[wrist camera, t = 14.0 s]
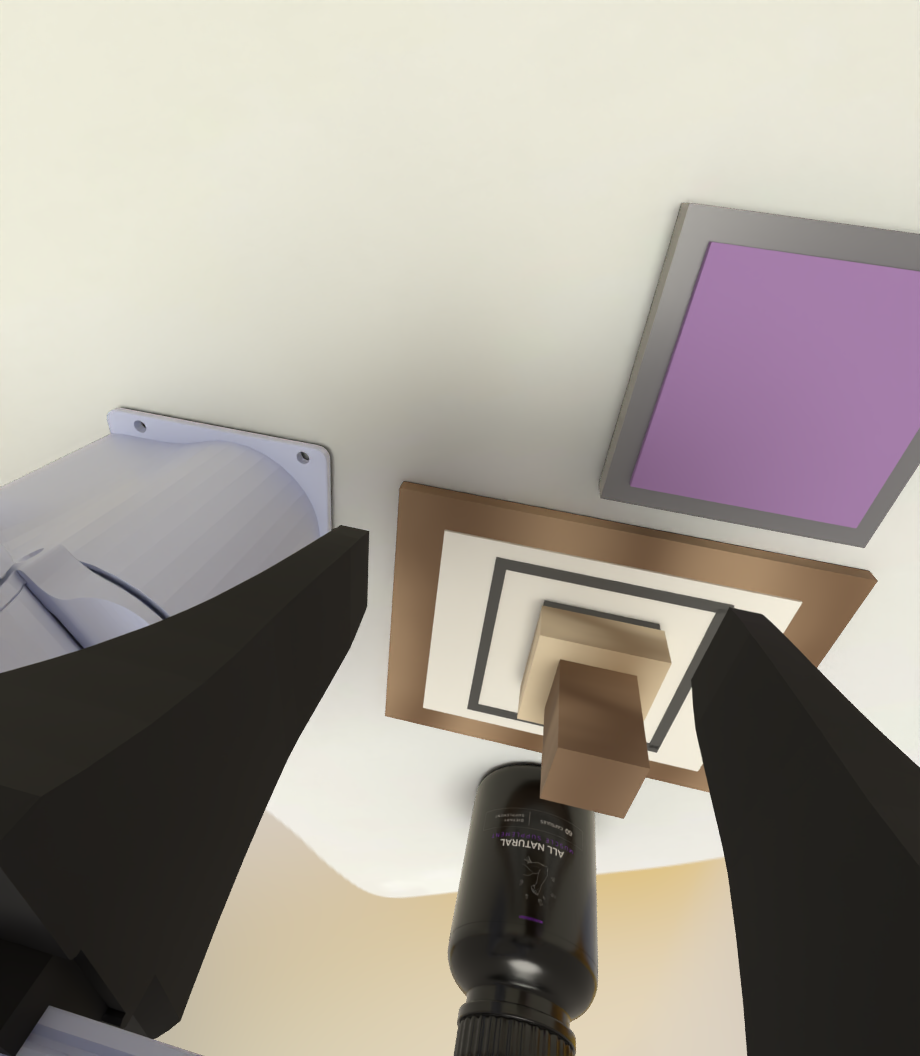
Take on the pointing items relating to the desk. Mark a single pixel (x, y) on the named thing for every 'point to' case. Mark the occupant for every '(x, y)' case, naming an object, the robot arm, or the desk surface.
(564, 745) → the stamp
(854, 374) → the ink pad
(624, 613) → the stamp board
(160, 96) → the desk surface
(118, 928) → the robot arm
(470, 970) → the supplement bottle
